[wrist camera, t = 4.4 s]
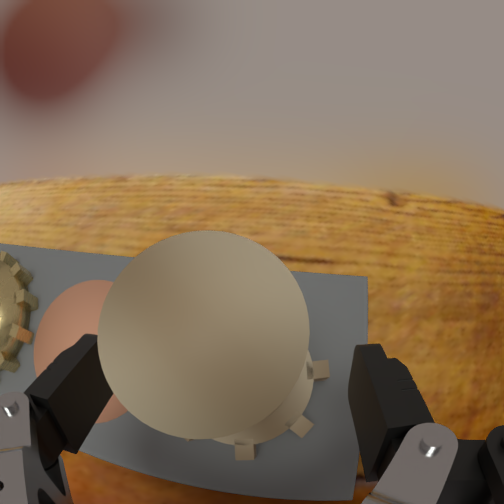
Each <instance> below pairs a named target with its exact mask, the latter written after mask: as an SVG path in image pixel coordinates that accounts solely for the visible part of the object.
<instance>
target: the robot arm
mask: <svg viewBox="0 0 504 504" xmlns="http://www.w3.org/2000/svg"><path fill="white" fill-rule="evenodd" d="M97 338H98V335H95V334H88V333H86V334H84V335H83V336H82V337H81V338H80V339H79V340H78V341H77V342H76V343H75V344H74V345H73V346H71V347H69V348H67V349H66V350H64V351H62V352H61V353H60V354H59V355H58V356H57V357H56V358H55V359H54V360H53V363H52V362H51V363H50V364H49V365H48V367H47V369H46V370H44V371H43V372H42V373H41V374H40V375H39V376H38V377H37V378H36V379H35V381H34V382H33V383H32V384H31V385H30V386H29V387H28V388H27V389H26V390H25V392H24V393H21V392H17V391H13V392H8V393H5V394H3V395H1V396H0V504H74V503H73V500H72V497H71V493H70V489H69V485H68V481H67V477H66V472H65V468H64V463H63V459H62V457H61V456H60V454H61V452H62V450H65V451H68V452H71V453H74V454H77V452H78V451H79V449H80V447H81V446H82V444H83V442H84V441H85V439H86V437H87V436H88V434H89V432H90V431H91V429H92V427H93V426H94V424H95V422H96V421H97V419H98V418H99V416H100V414H101V413H102V411H103V409H104V408H105V406H106V405H107V403H108V401H109V400H110V398H111V397H112V395H113V391H112V390H111V388H110V386H109V384H108V382H107V380H106V378H105V375H104V372H103V370H102V367H101V363H100V358H99V353H98V342H97ZM412 379H413V378H412V376H411V374H410V372H409V370H408V368H407V367H406V366H405V365H404V364H402V363H401V362H400V361H399V360H398V359H396V358H390V359H387V356H386V354H385V352H384V350H383V348H382V346H381V345H380V344H363V345H356V346H355V349H354V354H353V360H352V366H351V372H350V378H349V383H348V401H349V405H350V410H351V414H352V418H353V422H354V427H355V431H356V436H357V440H358V445H359V449H360V454H361V459H362V464H363V468H364V473H365V478H366V482H371V481H379V482H378V483H377V485H376V487H375V488H374V489H373V491H372V492H371V493H369V494H368V495H367V497H366V498H365V499H364V501H363V502H362V503H361V504H504V425H502V426H498V427H496V428H494V429H493V430H492V431H491V432H490V433H489V435H488V436H487V438H486V440H461V439H457V438H456V436H455V434H454V433H453V432H452V431H451V430H450V429H448V428H447V427H445V426H443V425H440V424H437V423H435V422H434V420H433V418H432V416H431V414H430V412H429V410H428V408H427V406H426V404H425V402H424V400H423V398H422V396H421V394H420V392H419V390H417V386H416V384H415V382H414V380H412Z"/></svg>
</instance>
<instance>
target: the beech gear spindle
mask: <svg viewBox="0 0 504 504" xmlns="http://www.w3.org/2000/svg"><path fill="white" fill-rule="evenodd" d="M309 336H310V330H309V317H308V311H307V306H306V303H305V300H304V297H303V294H302V291H301V289H300V287H299V285H298V283H297V281H296V280H295V278H294V277H293V275H292V274H291V272H290V271H289V269H288V268H287V267H286V266H285V265H284V264H283V263H282V261H281V260H280V259H279V258H277V257H276V256H275V255H274V254H273V253H272V252H270V251H269V250H268V249H266V248H264V247H263V246H261V245H260V244H258V243H256V242H254V241H252V240H250V239H248V238H245V237H242V236H239V235H236V234H232V233H227V232H221V231H194V232H187V233H183V234H179V235H175V236H172V237H169V238H167V239H164V240H162V241H160V242H158V243H156V244H154V245H152V246H150V247H149V248H147V249H146V250H144V251H143V252H141V253H140V254H139V255H138V256H136V257H135V258H134V259H133V260H132V261H131V262H130V263H129V264H128V265H127V266H126V267H125V268H124V269H123V270H122V271H121V273H120V274H119V276H118V277H117V278H116V280H115V281H114V283H113V284H112V286H111V288H110V290H109V292H108V294H107V296H106V298H105V301H104V303H103V306H102V310H101V313H100V318H99V324H98V338H97V342H98V353H99V358H100V363H101V367H102V370H103V372H104V375H105V378H106V380H107V382H108V384H109V386H110V388H111V390H112V391H113V393H114V394H115V396H116V397H117V398H118V400H119V401H120V402H121V404H122V405H123V406H124V407H125V408H126V409H127V410H128V411H129V412H130V413H131V414H133V415H134V416H135V417H136V418H138V419H139V420H140V421H141V422H143V423H145V424H147V425H148V426H150V427H152V428H154V429H156V430H158V431H161V432H163V433H166V434H168V435H172V436H176V437H181V438H184V439H185V440H186V441H187V442H188V441H192V440H195V439H213V440H215V441H218V442H222V443H225V444H231V445H235V460H254V459H255V457H256V444H258V443H263V442H266V441H268V440H271V439H273V438H275V437H277V436H279V435H281V434H282V433H284V432H285V431H286V430H288V429H289V428H290V429H291V430H292V431H293V432H295V433H296V434H297V435H298V436H300V437H301V438H303V437H304V435H305V434H306V433H307V432H308V431H309V430H310V429H311V428H312V427H313V425H314V424H313V423H312V422H310V421H309V420H308V419H306V418H305V417H304V416H303V415H302V413H303V412H304V410H305V408H306V406H307V404H308V402H309V399H310V397H311V393H312V389H313V382H316V381H324V380H326V379H328V378H329V377H330V373H329V363H328V360H321V361H312V359H311V356H310V353H309V351H308V346H309Z"/></svg>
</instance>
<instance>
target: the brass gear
mask: <svg viewBox="0 0 504 504" xmlns="http://www.w3.org/2000/svg"><path fill="white" fill-rule="evenodd" d="M32 280H33V277H32V275H31V273H30V272H29V271H28V270H27V269H26V268H24V267H23V266H22V265H20V264H19V262H18V261H17V260H16V259H14V258H13V257H12V256H11V255H10V254H8V253H7V252H4V251H1V252H0V371H2V370H6V371H10V372H13V373H15V372H16V370H17V369H18V368H19V367H20V364H19V362H18V360H17V358H16V357H17V355H18V354H19V352H20V350H21V348H22V346H23V344H24V342H25V343H27V344H30V345H31V344H32V341H33V338H34V333H32V332H30V331H28V328H29V323H30V315H31V312H32V311H35V310H38V298H37V297H35V296H34V295H32V294H31V293H29V290H28V285H29V284H30V282H31V281H32Z"/></svg>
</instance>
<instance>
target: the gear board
mask: <svg viewBox="0 0 504 504" xmlns="http://www.w3.org/2000/svg"><path fill="white" fill-rule="evenodd" d="M1 251H4V252H7V253H8V254H10V255H11V256H12V257H13V258H14V259H16V260H17V261H18V262H19V264H20V265H22V266H23V267H24V268H26V269H27V270H28V271H29V272H30V273H31V275H32V277H33V280H32V281H31V282H30V284H29V285H28V290H29V293H31V294H32V295H34V296H35V297H37V298H38V310H35V311H32V312H31V315H30V323H29V328H28V331H30V332H32V333H34V338H33V341H32V344H31V345H30V344H27V343H25V342H24V344H23V346H22V348H21V350H20V352H19V354H18V355H17V357H16V358H17V360H18V362H19V364H20V367H19V368H18V369H17V370H16V372H15V373H13V372H10V371H6V370H2V371H0V396H1V395H3V394H5V393H8V392H13V391H17V392H21V393H24V392H25V390H26V389H27V388H28V387H29V386H30V385H31V384H32V383H33V382H34V381H35V379H36V378H37V377H38V376H39V375H40V374H41V373H42V372H43V371H44V370H46V369H47V367H48V365H49V364H50V363H51V362H52V363H53V360H54V359H55V358H56V357H57V356H58V355H59V354H60V353H61V352H62V351H64V350H66V349H67V348H69V347H71V346H73V345H74V344H75V343H76V342H77V341H78V340H79V339H80V338H81V337H82V336H83V335H84V334H86V333H88V334H95V335H98V324H99V318H100V313H101V310H102V306H103V303H104V301H105V298H106V296H107V294H108V292H109V290H110V288H111V286H112V284H113V283H114V281H115V280H116V278H117V277H118V276H119V274H120V273H121V271H122V270H123V269H124V268H125V267H126V266H127V265H128V264H129V263H130V262H131V261H132V260H133V259H134V257H124V256H114V255H103V254H94V253H84V252H74V251H64V250H55V249H46V248H36V247H27V246H18V245H9V244H1V243H0V252H1ZM290 272H291V274H292V275H293V277H294V278H295V280H296V281H297V283H298V285H299V287H300V289H301V291H302V294H303V297H304V300H305V303H306V306H307V311H308V317H309V330H310V336H309V346H308V351H309V353H310V356H311V359H312V361H321V360H328V363H329V373H330V377H329V378H328V379H326V380H324V381H316V382H313V389H312V393H311V397H310V399H309V402H308V404H307V406H306V408H305V410H304V412H303V413H302V415H303V416H304V417H305V418H306V419H308V420H309V421H310V422H312V423H313V424H314V425H313V427H312V428H311V429H310V430H309V431H308V432H307V433H306V434H305V435H304V437H303V438H301V437H300V436H298V435H297V434H296V433H295V432H293V431H292V430H291V429H290V428H289V429H288V430H286V431H285V432H284V433H282V434H281V435H279V436H277V437H275V438H273V439H271V440H268V441H266V442H263V443H258V444H256V457H255V459H254V460H235V445H231V444H225V443H222V442H218V441H215V440H213V439H195V440H192V441H188V442H187V441H186V440H185V439H184V438H181V437H176V436H172V435H168V434H166V433H163V432H161V431H158V430H156V429H154V428H152V427H150V426H148V425H147V424H145V423H143V422H141V421H140V420H139V419H138V418H136V417H135V416H134V415H133V414H131V413H130V412H129V411H128V410H127V409H126V408H125V407H124V406H123V405H122V404H121V402H120V401H119V400H118V398H117V397H116V396H115V394H114V393H113V395H112V397H111V398H110V400H109V401H108V403H107V405H106V406H105V408H104V409H103V411H102V413H101V414H100V416H99V418H98V419H97V421H96V422H95V424H94V426H93V427H92V429H91V431H90V432H89V434H88V436H87V437H86V439H85V441H84V442H83V444H82V446H81V447H80V449H79V451H82V452H84V453H87V454H89V455H92V456H94V457H97V458H99V459H102V460H105V461H107V462H110V463H113V464H116V465H119V466H122V467H125V468H128V469H131V470H134V471H137V472H140V473H144V474H147V475H151V476H154V477H158V478H161V479H165V480H169V481H173V482H177V483H181V484H186V485H190V486H195V487H200V488H205V489H210V490H215V491H221V492H227V493H233V494H240V495H248V496H256V497H266V498H277V499H291V500H315V501H342V500H352V499H353V493H354V487H355V481H356V474H357V467H358V459H359V451H360V449H359V445H358V440H357V436H356V431H355V427H354V422H353V418H352V414H351V410H350V405H349V401H348V383H349V378H350V372H351V366H352V360H353V354H354V349H355V346H356V345H363V344H367V340H368V281H367V277H364V276H350V275H336V274H322V273H309V272H296V271H290Z"/></svg>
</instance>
